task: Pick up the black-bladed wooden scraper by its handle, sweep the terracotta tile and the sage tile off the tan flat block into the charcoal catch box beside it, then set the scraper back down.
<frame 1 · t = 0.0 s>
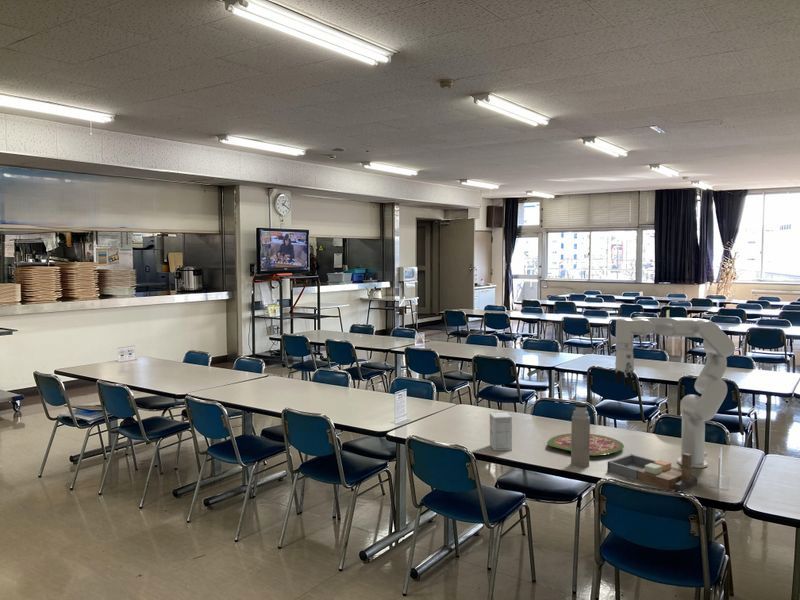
hand: (623, 383, 282), 37 cm above the table, tool pointing down, fingers open, 9 cm apart
pizza: (586, 448, 312), on the table
terracotta tile: (662, 468, 268), point 4 cm above the table, touching tan flat block
supplement box: (500, 448, 311), on the table
thermos bottle: (580, 465, 285), on the table
tan flat block: (663, 480, 264), on the table
sage tile: (653, 471, 264), point 4 cm above the table, touching tan flat block
scraper: (686, 487, 256), on the table
catch box: (633, 471, 275), on the table
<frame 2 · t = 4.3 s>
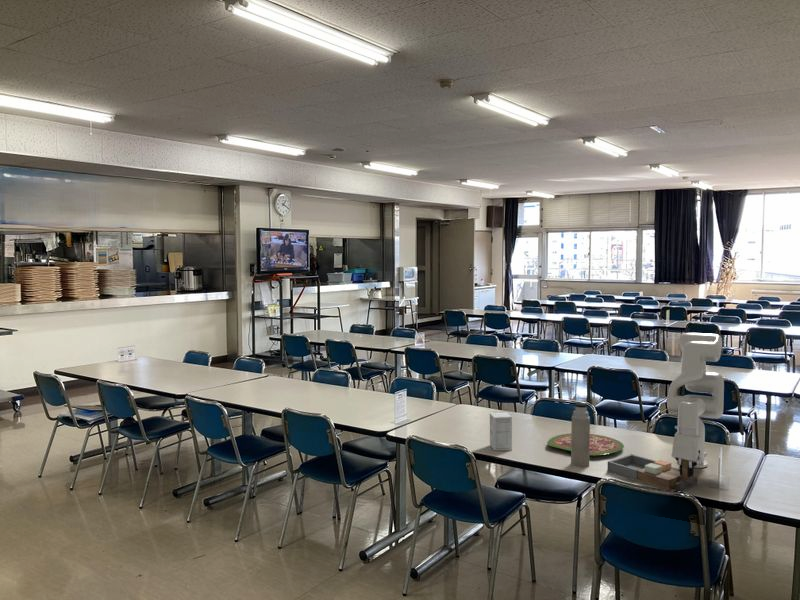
hand: (686, 475, 256), 5 cm above the table, tool pointing down, fingers closed on scraper, 2 cm apart
scraper: (686, 487, 256), on the table, touching gripper
everything else where it was.
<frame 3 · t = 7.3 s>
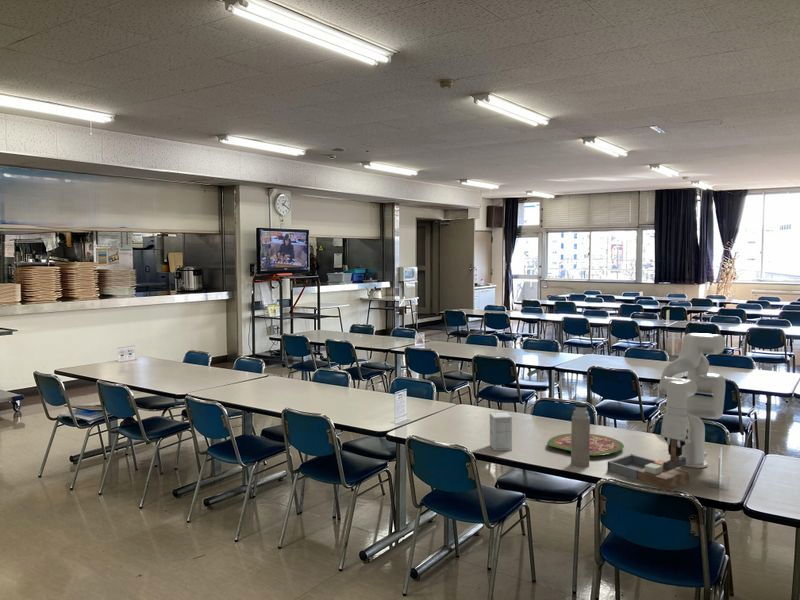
hand: (675, 454, 259), 13 cm above the table, tool pointing down, fingers closed on scraper, 2 cm apart
scraper: (674, 467, 259), point 7 cm above the table, touching gripper
everything else where it was.
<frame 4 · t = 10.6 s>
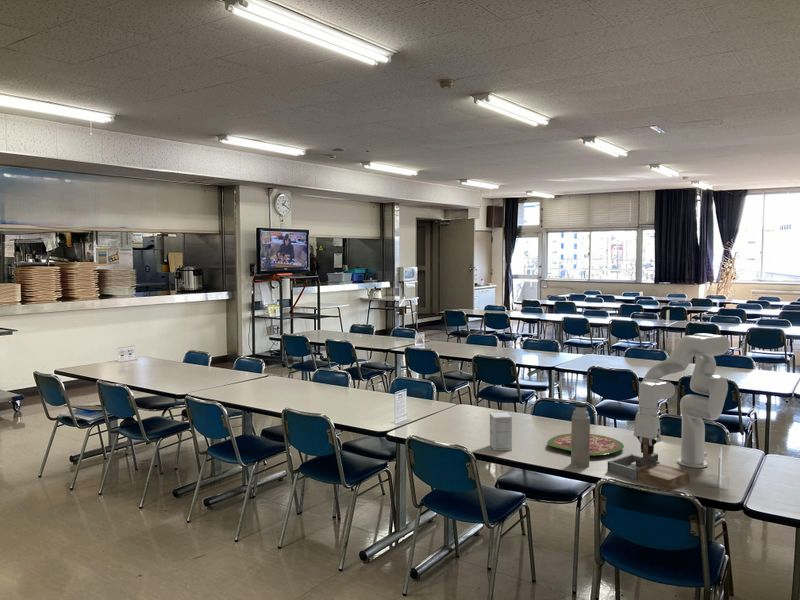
hand: (647, 452, 270), 10 cm above the table, tool pointing down, fingers closed on scraper, 2 cm apart
terracotta tile: (639, 463, 276), point 3 cm above the table, tilted 180°, touching catch box
sage tile: (639, 469, 269), point 3 cm above the table, tilted 91°, touching catch box
scraper: (646, 463, 270), point 5 cm above the table, touching gripper
everything else where it was.
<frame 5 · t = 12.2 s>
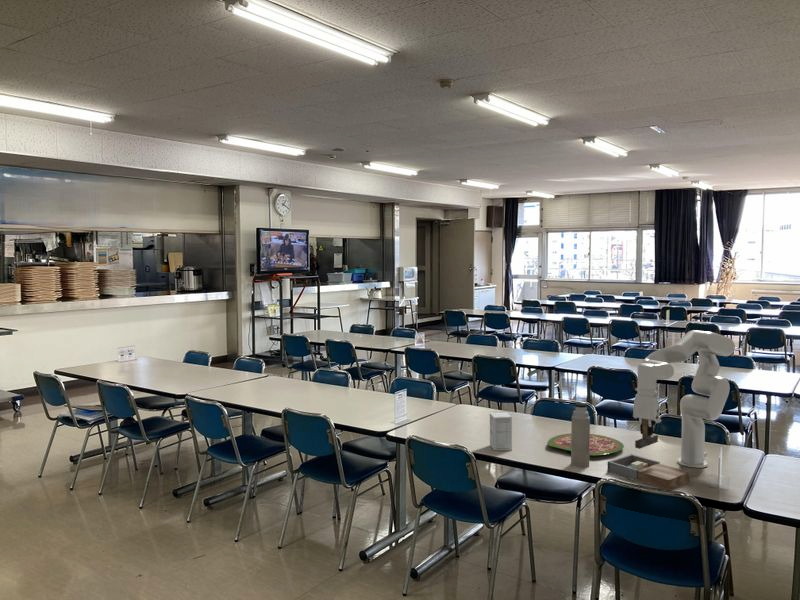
hand: (646, 433, 270), 18 cm above the table, tool pointing down, fingers closed on scraper, 2 cm apart
scraper: (646, 444, 270), point 13 cm above the table, touching gripper
everything else where it was.
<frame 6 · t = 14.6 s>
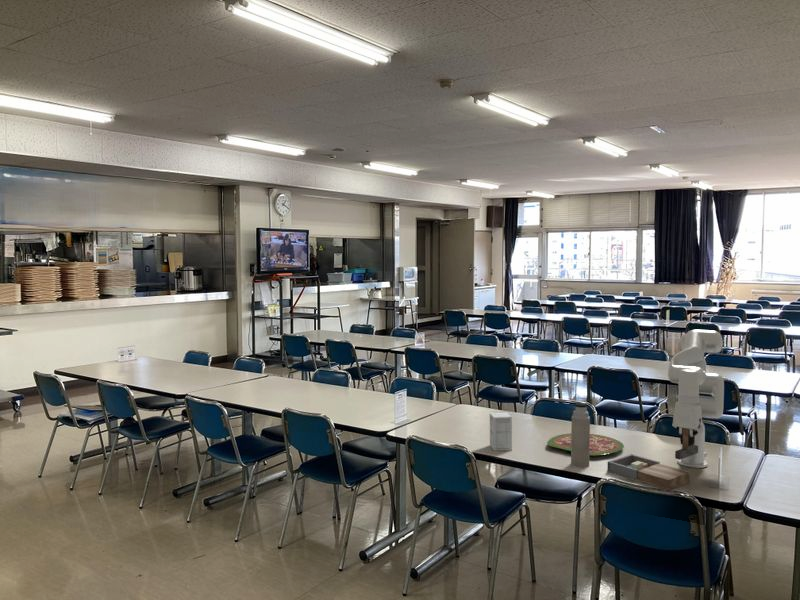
hand: (687, 444, 255), 18 cm above the table, tool pointing down, fingers closed on scraper, 2 cm apart
scraper: (686, 455, 255), point 13 cm above the table, touching gripper
everything else where it was.
when the fingers open (7 cm above the table, at t = 16.7 s): scraper drops 2 cm, on the table.
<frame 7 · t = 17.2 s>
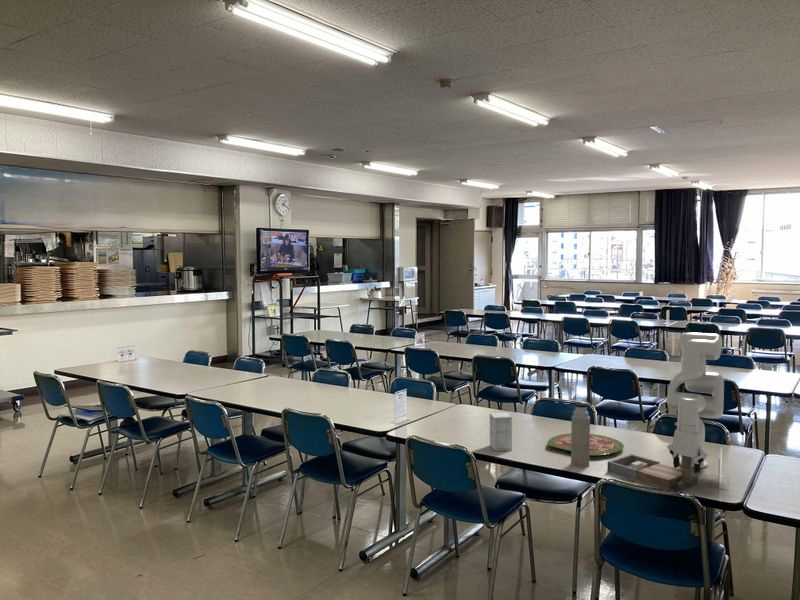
hand: (686, 469, 256), 7 cm above the table, tool pointing down, fingers open, 8 cm apart
scraper: (685, 487, 256), on the table
everything else where it was.
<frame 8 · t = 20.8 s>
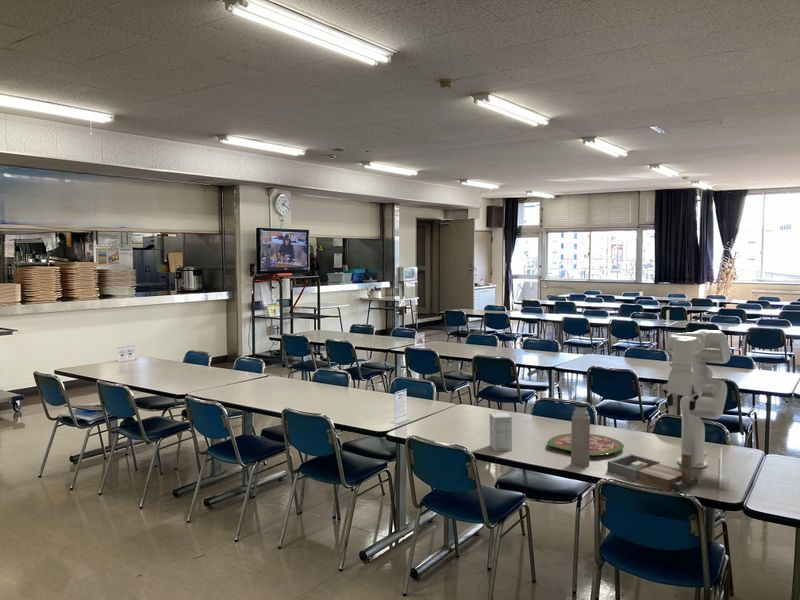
hand: (680, 407, 266), 30 cm above the table, tool pointing down, fingers open, 9 cm apart
nothing on the table moved.
at the end: terracotta tile inside the target area (3.4 cm from its centre), point 3.3 cm above the table; sage tile inside the target area (6.5 cm from its centre), point 3.3 cm above the table; the gripper is holding nothing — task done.
